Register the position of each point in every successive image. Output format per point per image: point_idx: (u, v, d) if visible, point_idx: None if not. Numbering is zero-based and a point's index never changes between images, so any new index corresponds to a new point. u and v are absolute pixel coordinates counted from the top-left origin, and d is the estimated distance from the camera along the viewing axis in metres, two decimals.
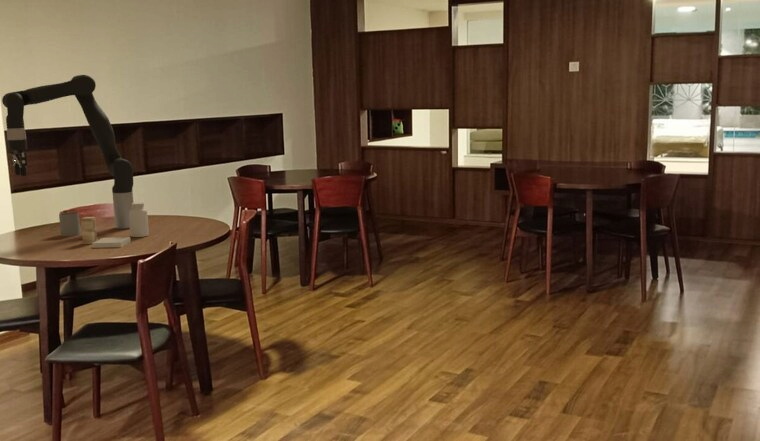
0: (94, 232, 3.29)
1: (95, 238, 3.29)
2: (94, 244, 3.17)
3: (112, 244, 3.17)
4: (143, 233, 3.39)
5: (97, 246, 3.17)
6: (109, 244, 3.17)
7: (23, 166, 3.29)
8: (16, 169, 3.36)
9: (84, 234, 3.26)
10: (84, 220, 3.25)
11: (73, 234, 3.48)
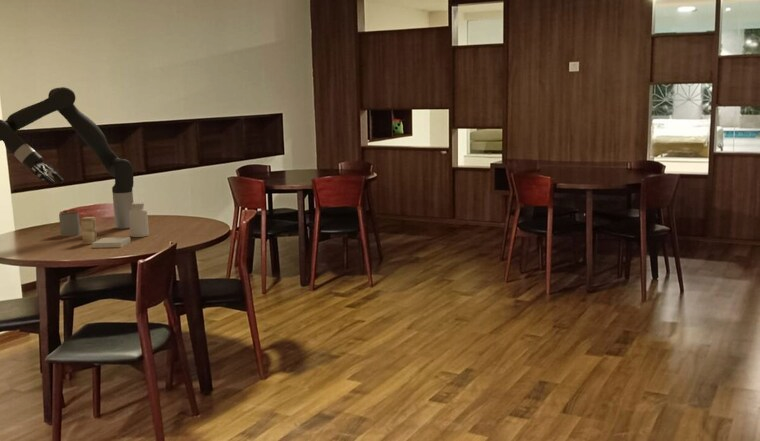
0: (94, 232, 3.29)
1: (95, 238, 3.29)
2: (94, 244, 3.17)
3: (112, 244, 3.17)
4: (143, 233, 3.39)
5: (97, 246, 3.17)
6: (109, 244, 3.17)
7: (43, 177, 3.19)
8: (56, 178, 3.29)
9: (84, 234, 3.26)
10: (84, 220, 3.25)
11: (73, 234, 3.48)
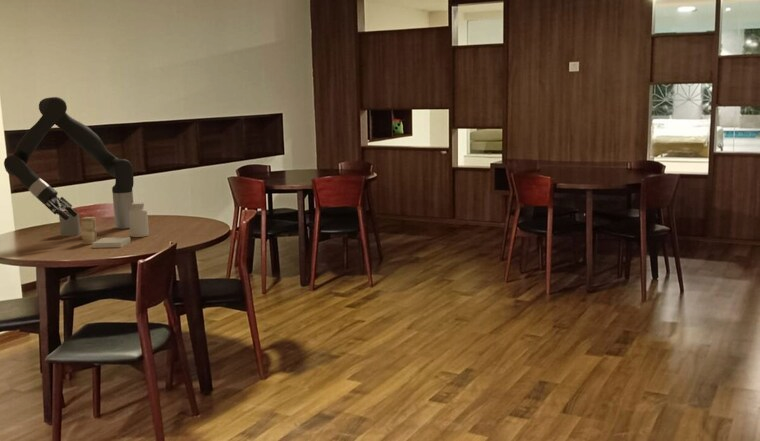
0: (94, 232, 3.29)
1: (95, 238, 3.29)
2: (94, 244, 3.17)
3: (112, 244, 3.17)
4: (143, 233, 3.39)
5: (97, 246, 3.17)
6: (109, 244, 3.17)
7: (57, 212, 3.21)
8: (70, 212, 3.31)
9: (84, 234, 3.26)
10: (84, 220, 3.25)
11: (73, 234, 3.48)
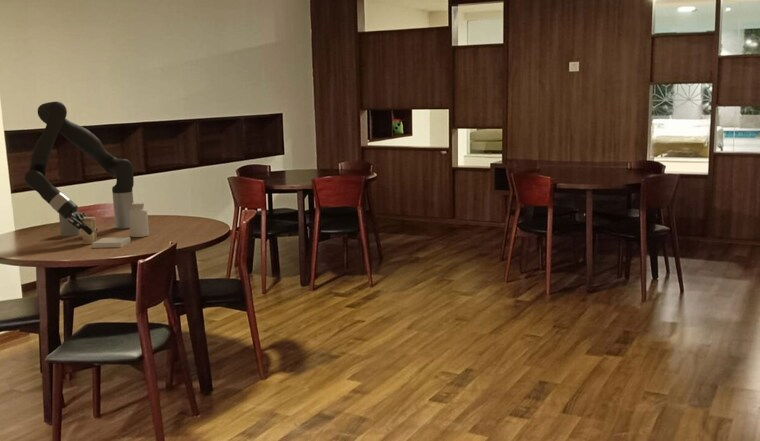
0: (94, 232, 3.29)
1: (95, 238, 3.29)
2: (94, 244, 3.17)
3: (112, 244, 3.17)
4: (143, 233, 3.39)
5: (97, 246, 3.17)
6: (109, 244, 3.17)
7: (81, 227, 3.24)
8: None
9: (84, 234, 3.26)
10: (84, 220, 3.25)
11: (73, 234, 3.48)
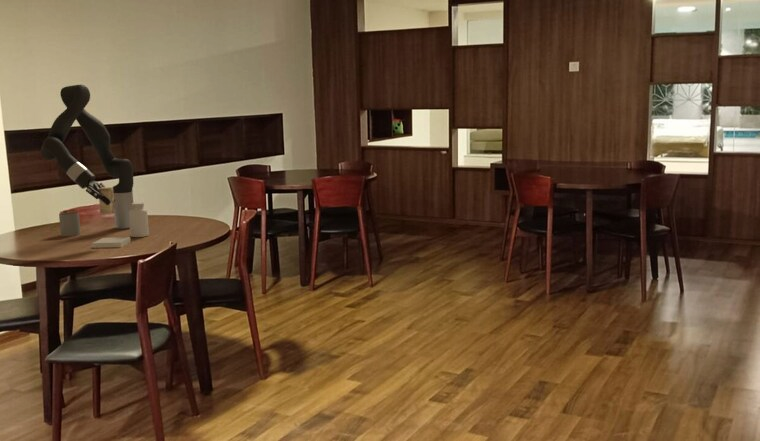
0: (112, 203, 3.20)
1: (113, 209, 3.21)
2: (94, 244, 3.17)
3: (112, 244, 3.17)
4: (143, 233, 3.39)
5: (97, 246, 3.17)
6: (109, 244, 3.17)
7: (99, 197, 3.16)
8: None
9: (101, 204, 3.18)
10: (102, 190, 3.17)
11: (73, 234, 3.48)
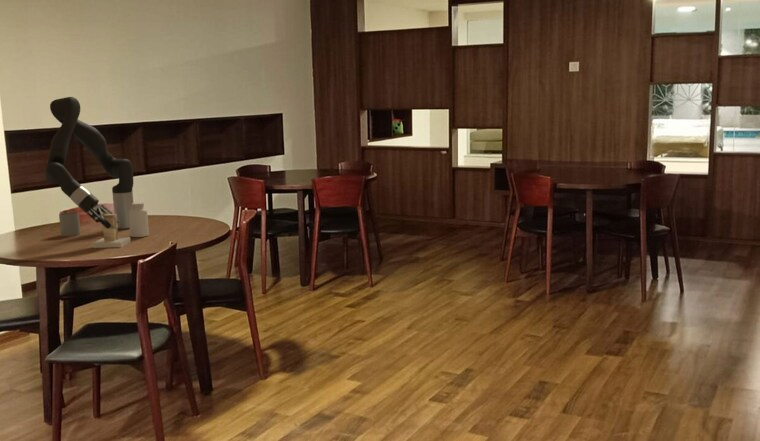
0: (115, 229, 3.22)
1: (116, 235, 3.23)
2: (94, 244, 3.17)
3: (112, 244, 3.17)
4: (143, 233, 3.39)
5: (97, 246, 3.17)
6: (109, 244, 3.17)
7: (99, 221, 3.15)
8: None
9: (105, 231, 3.20)
10: (105, 217, 3.19)
11: (73, 234, 3.48)
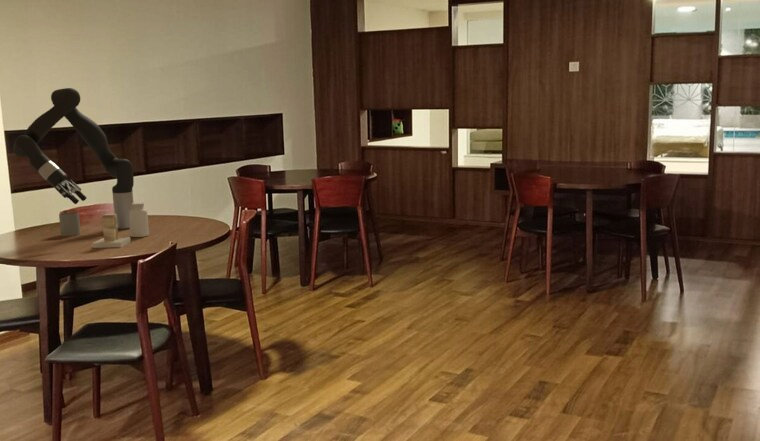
0: (115, 229, 3.22)
1: (116, 235, 3.23)
2: (94, 244, 3.17)
3: (112, 244, 3.17)
4: (143, 233, 3.39)
5: (97, 246, 3.17)
6: (109, 244, 3.17)
7: (67, 196, 3.15)
8: (79, 196, 3.25)
9: (105, 231, 3.20)
10: (105, 217, 3.19)
11: (73, 234, 3.48)
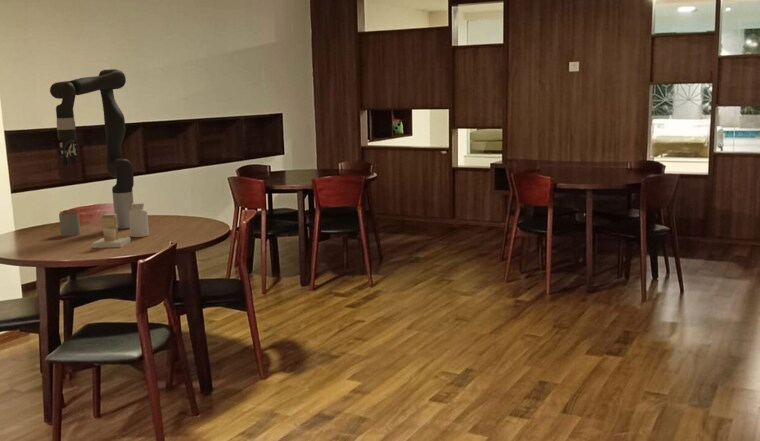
0: (115, 229, 3.22)
1: (116, 235, 3.23)
2: (94, 244, 3.17)
3: (112, 244, 3.17)
4: (143, 233, 3.39)
5: (97, 246, 3.17)
6: (109, 244, 3.17)
7: (62, 156, 3.27)
8: (71, 159, 3.37)
9: (105, 231, 3.20)
10: (105, 217, 3.19)
11: (73, 234, 3.48)
